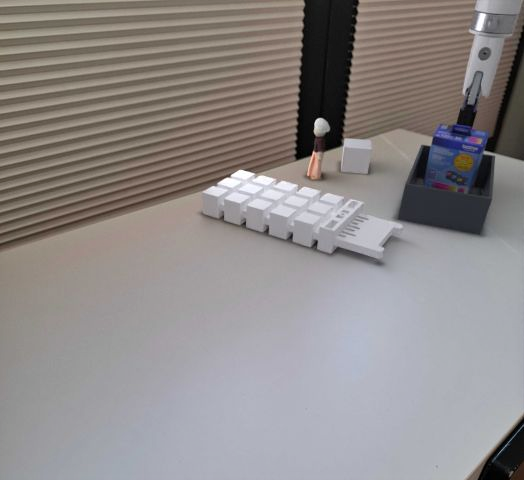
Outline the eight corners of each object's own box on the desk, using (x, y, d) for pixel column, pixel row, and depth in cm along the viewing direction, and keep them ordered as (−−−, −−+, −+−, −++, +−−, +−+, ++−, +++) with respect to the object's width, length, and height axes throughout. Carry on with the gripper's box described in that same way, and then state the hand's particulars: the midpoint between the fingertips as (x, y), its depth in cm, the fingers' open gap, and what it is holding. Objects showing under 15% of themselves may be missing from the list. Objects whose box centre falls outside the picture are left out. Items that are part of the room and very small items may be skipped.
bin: (413, 178, 114) (421, 144, 109) (483, 190, 110) (495, 155, 106) (396, 221, 98) (405, 184, 93) (478, 237, 94) (492, 199, 89)
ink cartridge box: (420, 189, 109) (434, 123, 97) (428, 175, 112) (442, 110, 100) (467, 200, 105) (487, 133, 94) (474, 186, 108) (494, 119, 97)
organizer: (240, 169, 102) (407, 214, 89) (240, 192, 105) (402, 238, 93) (202, 192, 94) (381, 244, 81) (203, 216, 97) (376, 270, 84)
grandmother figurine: (303, 172, 115) (309, 113, 106) (320, 172, 115) (326, 113, 107) (310, 186, 109) (315, 124, 101) (327, 186, 109) (334, 124, 101)
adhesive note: (366, 166, 119) (371, 140, 115) (367, 176, 114) (372, 149, 110) (340, 164, 119) (344, 137, 115) (340, 174, 115) (344, 147, 111)
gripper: (515, 32, 84) (480, 145, 96) (515, 20, 95) (483, 123, 107) (468, 28, 86) (439, 139, 98) (473, 16, 97) (447, 118, 109)
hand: (462, 130), depth 102 cm, fingers closed
